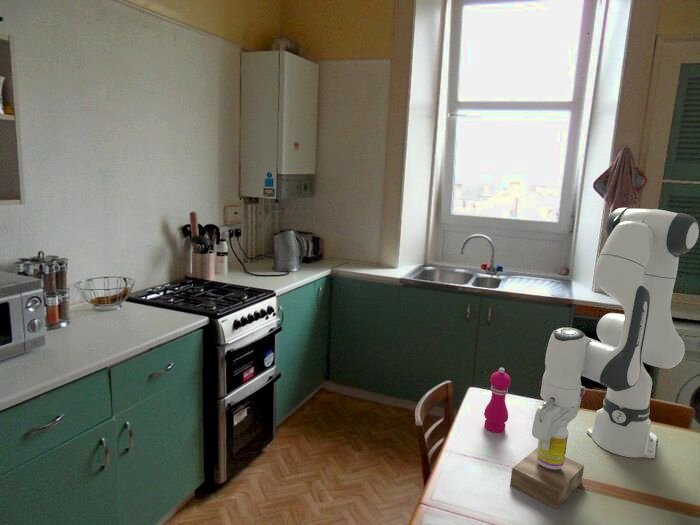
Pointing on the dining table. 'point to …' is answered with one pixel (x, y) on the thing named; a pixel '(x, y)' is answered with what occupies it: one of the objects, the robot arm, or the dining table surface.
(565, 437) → the supplement bottle
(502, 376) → the pepper mill
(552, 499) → the walnut stand
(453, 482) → the dining table surface
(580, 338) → the robot arm
